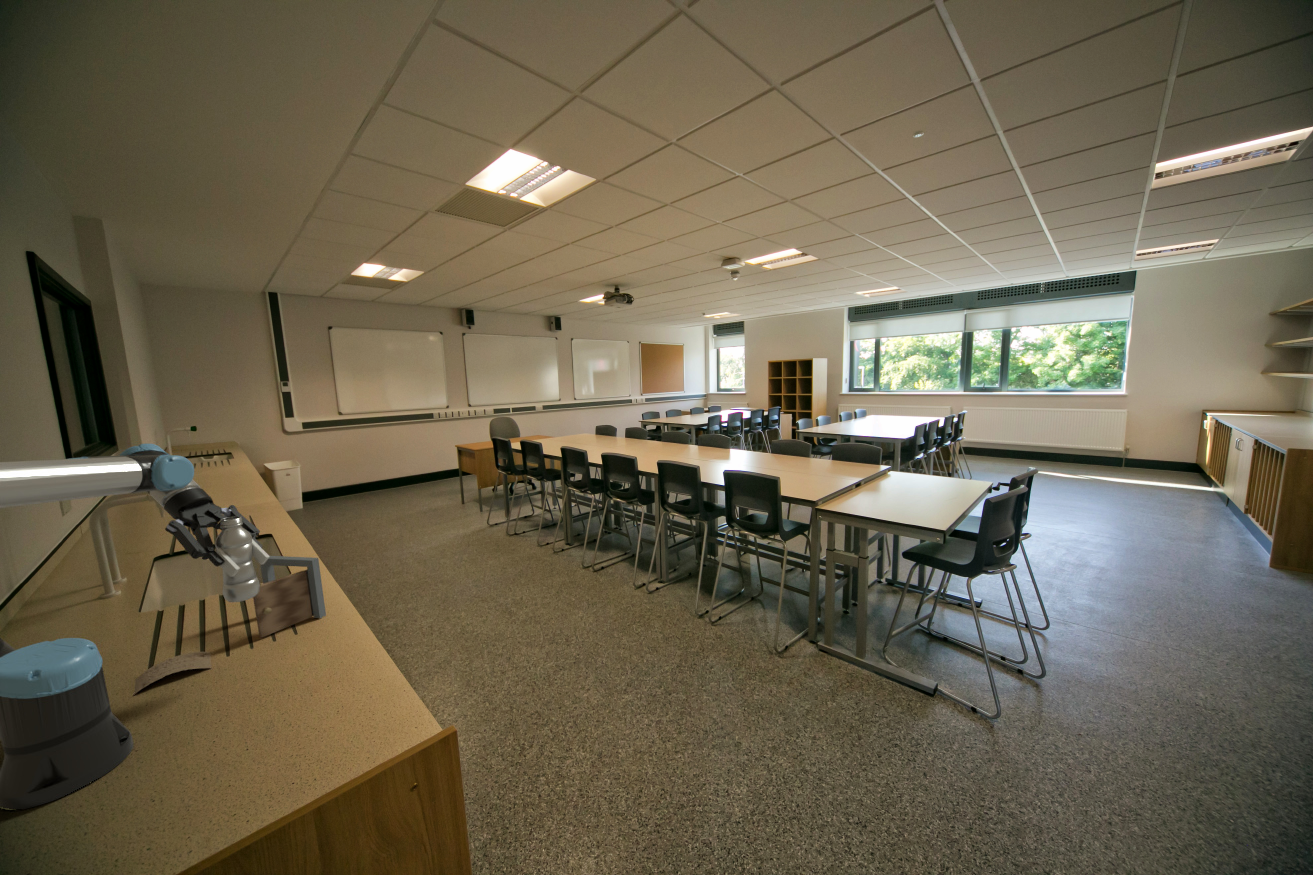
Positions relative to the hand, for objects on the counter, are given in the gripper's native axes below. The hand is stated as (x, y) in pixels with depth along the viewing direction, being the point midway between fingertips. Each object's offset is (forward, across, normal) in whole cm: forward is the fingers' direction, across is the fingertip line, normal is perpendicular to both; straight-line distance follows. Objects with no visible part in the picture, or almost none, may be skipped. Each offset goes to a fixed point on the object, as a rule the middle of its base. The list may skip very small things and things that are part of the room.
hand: (250, 566), depth 106 cm
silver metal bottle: (+4, 0, -9) cm, 9 cm away
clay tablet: (+4, +4, -34) cm, 35 cm away
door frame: (+7, -23, -30) cm, 39 cm away
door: (+9, -17, -27) cm, 33 cm away
